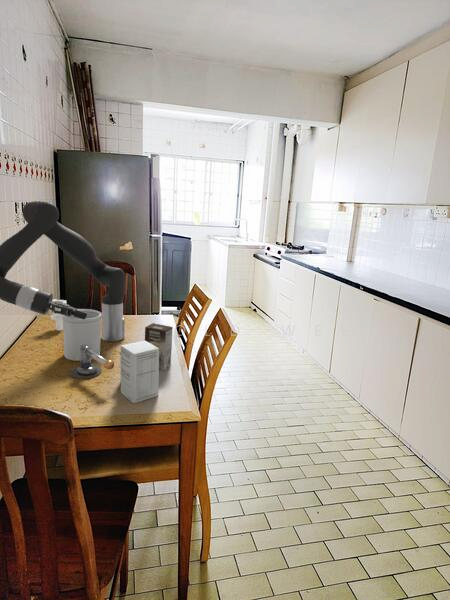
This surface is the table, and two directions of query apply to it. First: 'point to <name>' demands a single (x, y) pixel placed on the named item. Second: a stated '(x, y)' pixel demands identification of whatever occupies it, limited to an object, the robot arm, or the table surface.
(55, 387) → the table surface
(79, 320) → the utensil holder
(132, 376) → the supplement box
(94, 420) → the table surface
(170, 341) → the coffee box
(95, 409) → the table surface
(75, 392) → the table surface
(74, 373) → the base plate
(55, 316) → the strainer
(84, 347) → the metal lever
